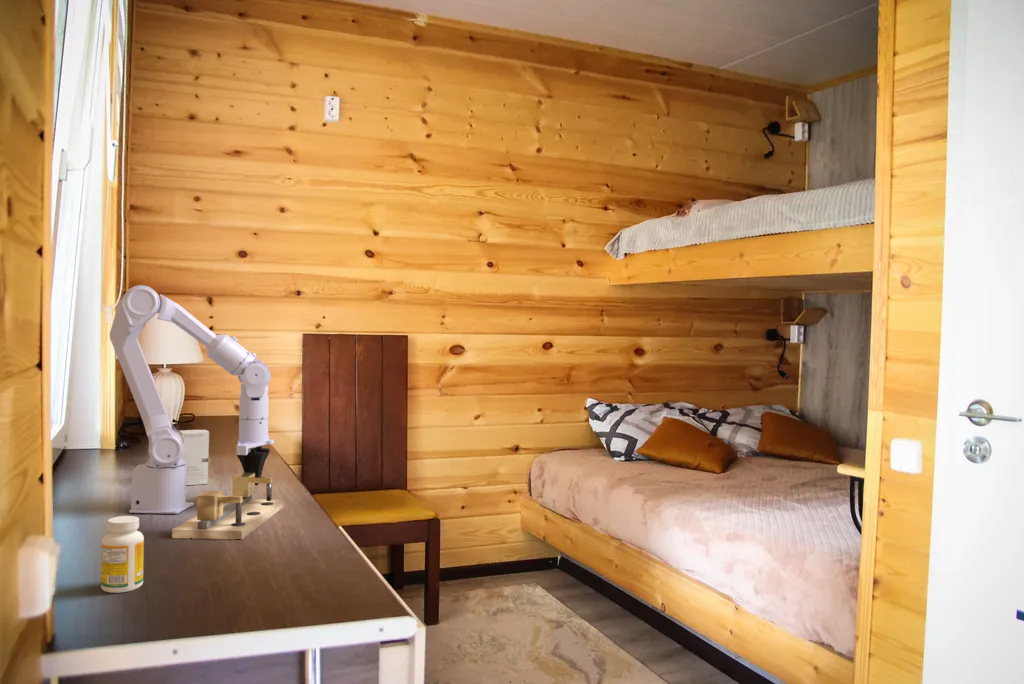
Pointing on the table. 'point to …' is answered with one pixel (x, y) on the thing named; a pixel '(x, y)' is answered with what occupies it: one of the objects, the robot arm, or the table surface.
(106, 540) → the supplement bottle
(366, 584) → the table surface
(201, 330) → the robot arm
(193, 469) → the skincare box
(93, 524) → the table surface
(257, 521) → the board
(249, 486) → the tan block with post
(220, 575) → the table surface
